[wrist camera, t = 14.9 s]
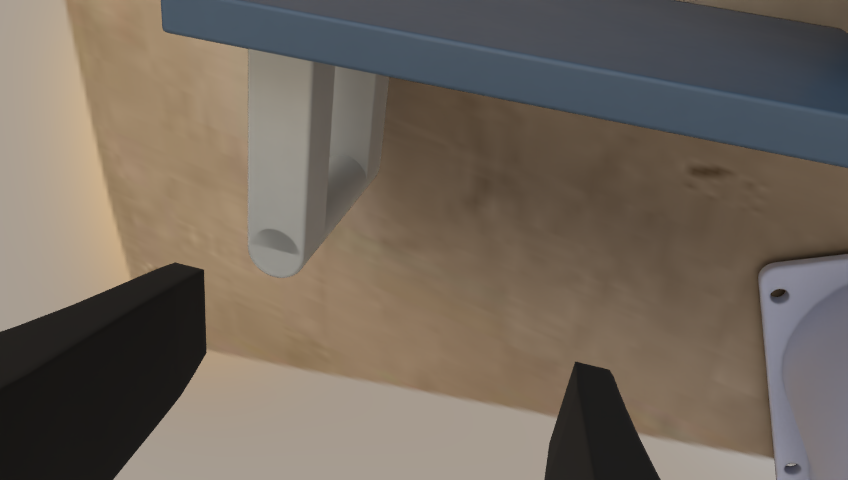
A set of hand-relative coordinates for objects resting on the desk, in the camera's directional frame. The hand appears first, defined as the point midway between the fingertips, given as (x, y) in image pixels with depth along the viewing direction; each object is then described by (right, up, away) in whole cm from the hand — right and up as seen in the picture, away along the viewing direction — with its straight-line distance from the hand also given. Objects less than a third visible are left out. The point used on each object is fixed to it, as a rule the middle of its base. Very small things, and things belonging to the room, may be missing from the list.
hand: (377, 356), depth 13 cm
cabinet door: (+5, +6, +7) cm, 11 cm away
